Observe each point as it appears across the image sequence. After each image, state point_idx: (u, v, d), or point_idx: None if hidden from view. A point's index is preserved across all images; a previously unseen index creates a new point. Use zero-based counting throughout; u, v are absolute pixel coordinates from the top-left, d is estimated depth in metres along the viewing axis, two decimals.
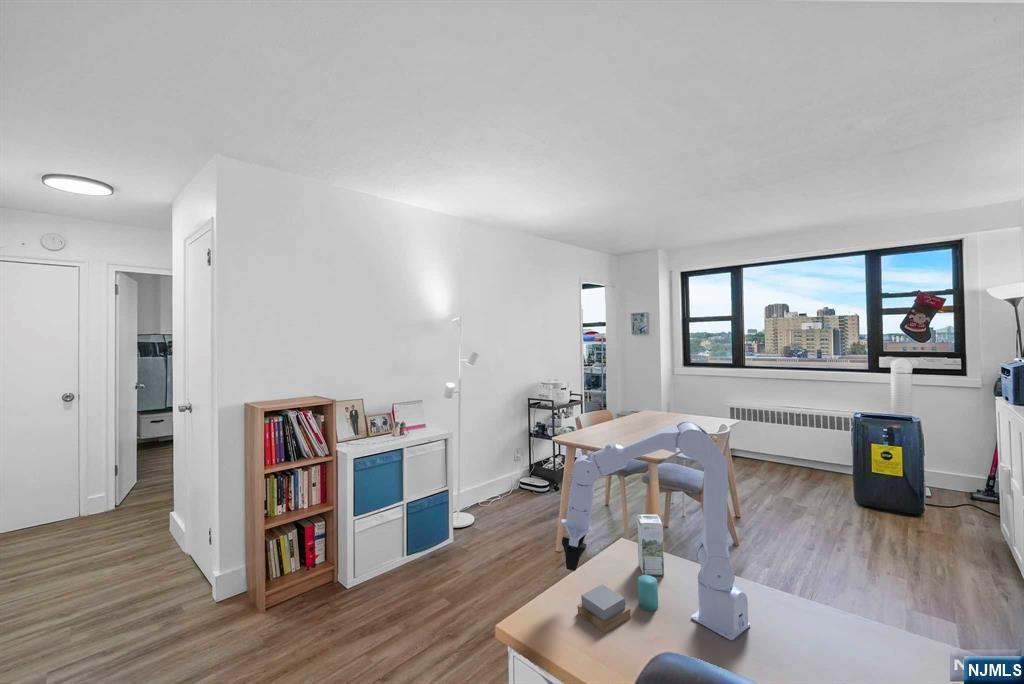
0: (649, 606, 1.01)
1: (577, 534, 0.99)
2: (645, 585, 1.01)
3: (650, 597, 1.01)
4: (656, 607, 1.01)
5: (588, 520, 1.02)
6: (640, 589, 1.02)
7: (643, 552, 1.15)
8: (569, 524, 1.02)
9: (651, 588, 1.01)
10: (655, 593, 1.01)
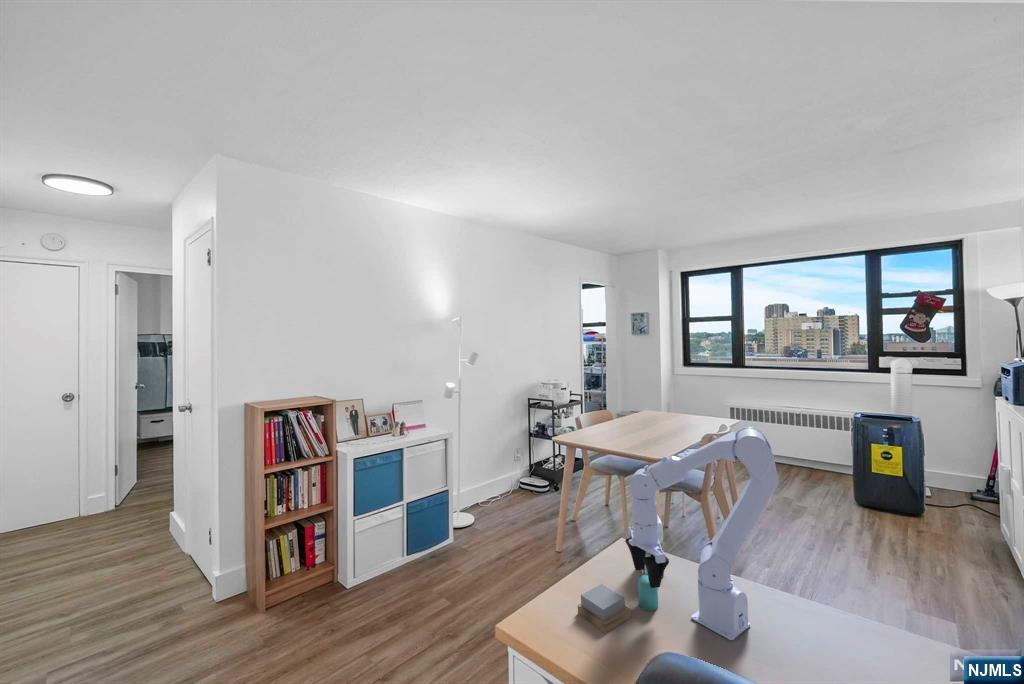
0: (649, 606, 1.01)
1: (657, 549, 0.98)
2: (645, 585, 1.01)
3: (650, 597, 1.01)
4: (656, 607, 1.01)
5: (657, 532, 1.02)
6: (640, 589, 1.02)
7: None
8: (643, 542, 1.00)
9: (651, 588, 1.01)
10: (655, 593, 1.01)
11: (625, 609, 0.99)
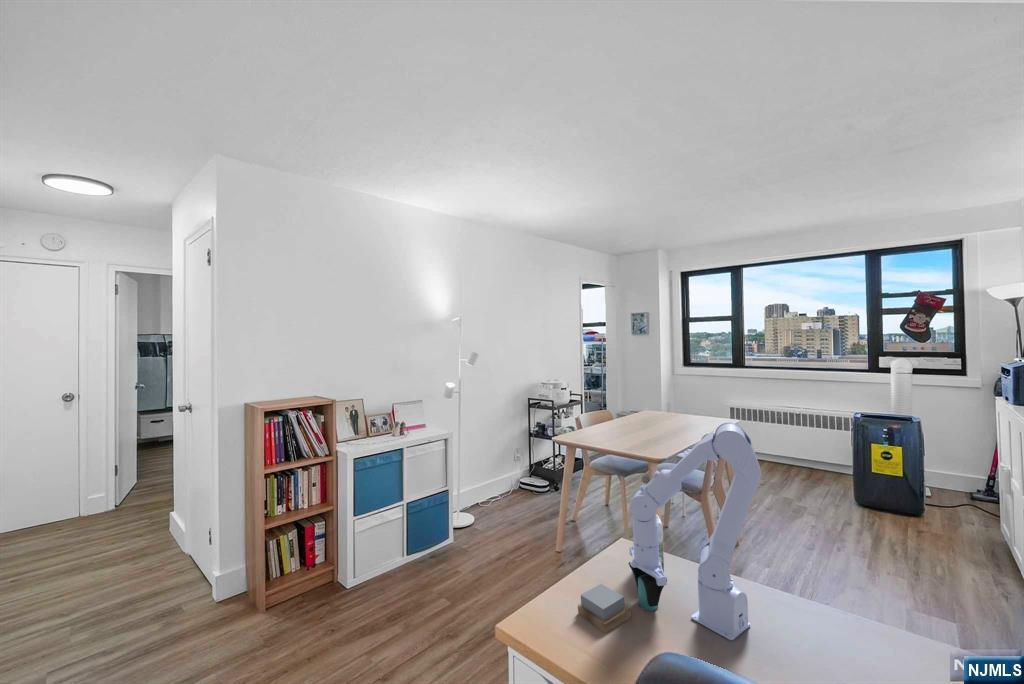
0: (649, 606, 1.01)
1: (658, 571, 0.98)
2: None
3: None
4: (656, 607, 1.01)
5: (658, 553, 1.02)
6: (640, 589, 1.02)
7: None
8: (644, 564, 1.00)
9: None
10: None
11: (625, 609, 0.99)
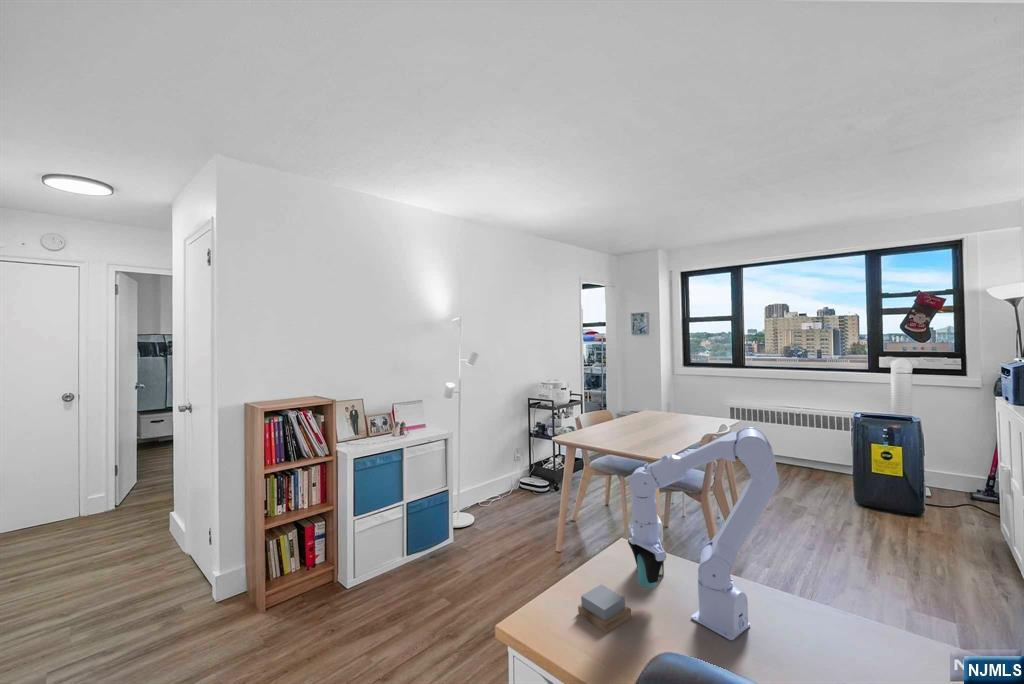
0: (649, 583, 1.01)
1: (657, 547, 0.98)
2: None
3: None
4: (655, 584, 1.01)
5: (657, 530, 1.02)
6: (639, 566, 1.02)
7: None
8: (643, 540, 1.00)
9: None
10: None
11: (625, 609, 0.99)
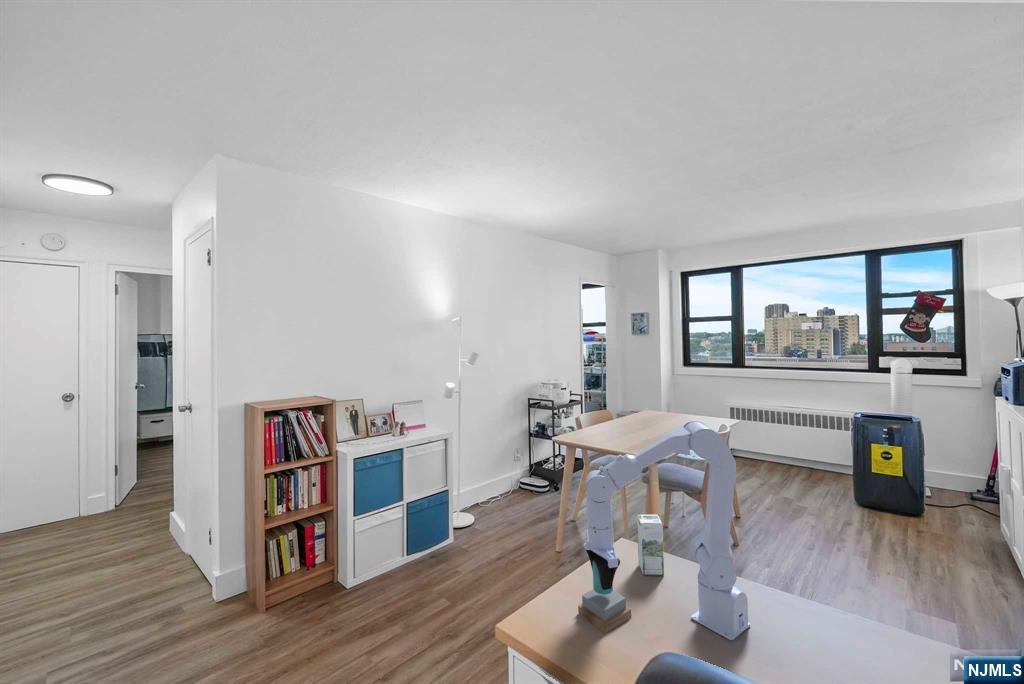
0: (603, 590, 0.98)
1: (611, 553, 0.95)
2: None
3: None
4: (610, 591, 0.98)
5: (612, 535, 0.99)
6: (594, 572, 0.99)
7: (643, 552, 1.15)
8: (597, 546, 0.97)
9: None
10: None
11: (626, 609, 0.99)
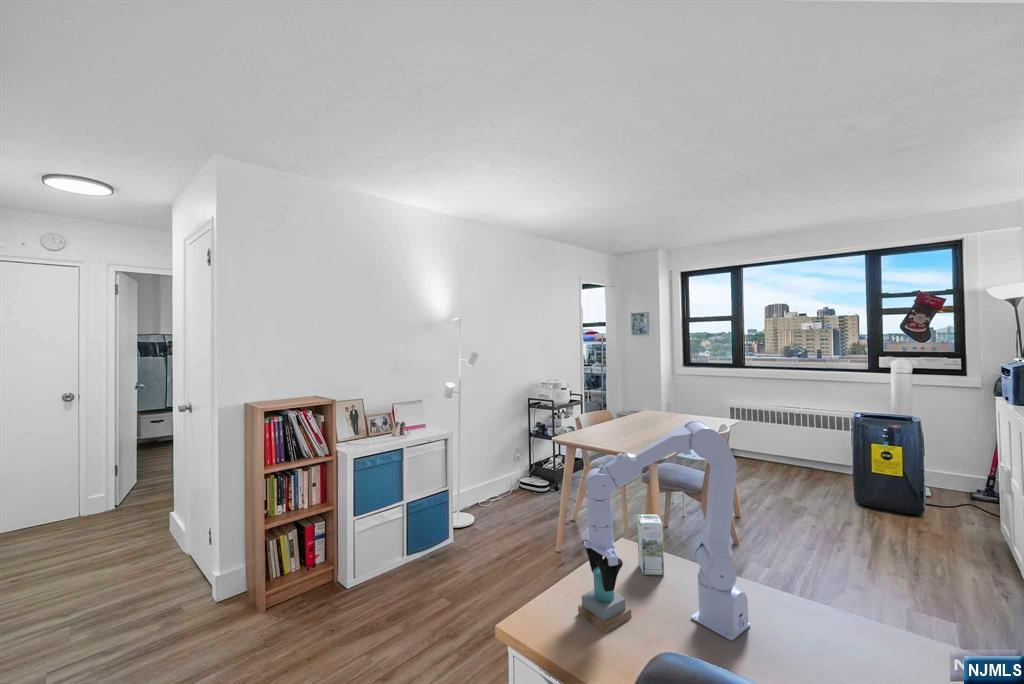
0: (604, 598, 0.97)
1: (611, 551, 0.95)
2: (600, 576, 0.98)
3: None
4: (611, 599, 0.98)
5: (612, 533, 0.99)
6: (595, 581, 0.99)
7: (643, 552, 1.15)
8: (597, 544, 0.97)
9: None
10: None
11: (626, 610, 0.99)
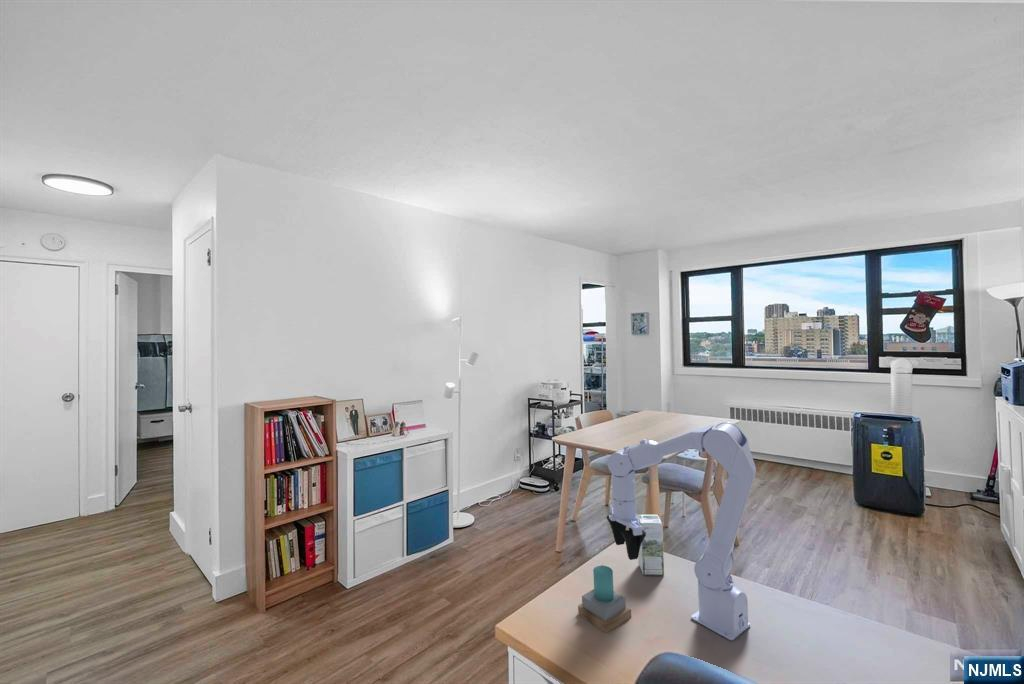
0: (604, 597, 0.98)
1: (635, 523, 1.04)
2: (600, 576, 0.98)
3: (605, 588, 0.98)
4: (611, 598, 0.98)
5: None
6: (595, 580, 0.99)
7: (643, 552, 1.15)
8: (621, 517, 1.06)
9: (605, 579, 0.98)
10: (610, 583, 0.98)
11: (626, 609, 0.99)
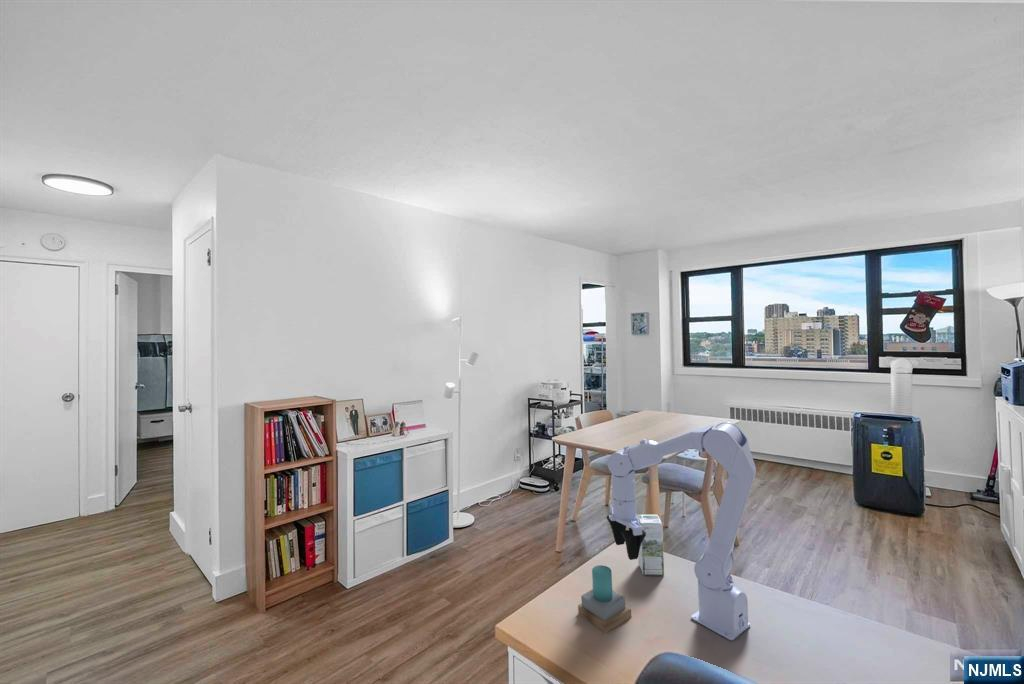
0: (603, 597, 0.98)
1: (635, 523, 1.04)
2: (599, 576, 0.98)
3: (604, 588, 0.98)
4: (610, 598, 0.98)
5: None
6: (594, 580, 0.99)
7: (643, 552, 1.15)
8: (621, 517, 1.06)
9: (604, 579, 0.97)
10: (608, 584, 0.98)
11: (626, 609, 0.99)
